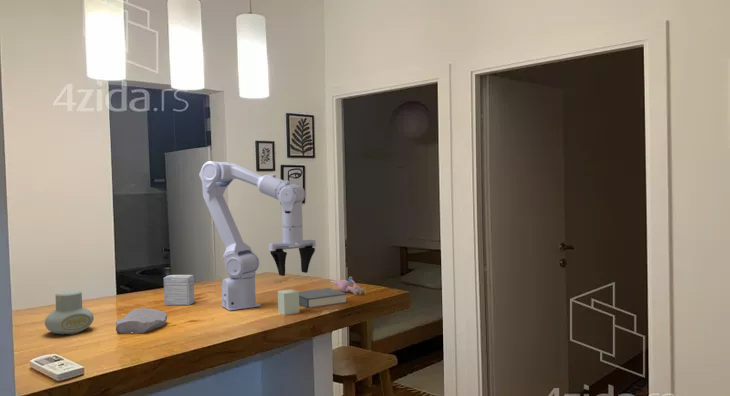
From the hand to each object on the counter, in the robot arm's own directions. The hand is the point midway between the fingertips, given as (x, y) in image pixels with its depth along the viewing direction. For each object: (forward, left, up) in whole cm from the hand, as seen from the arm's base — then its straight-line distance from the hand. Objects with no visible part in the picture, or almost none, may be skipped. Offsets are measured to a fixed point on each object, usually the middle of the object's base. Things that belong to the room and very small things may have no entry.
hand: (293, 273), depth 163 cm
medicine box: (-25, +28, -11) cm, 39 cm away
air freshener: (-56, +11, -11) cm, 59 cm away
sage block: (-2, -2, -10) cm, 11 cm away
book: (+11, +5, -11) cm, 16 cm away
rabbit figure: (+25, +13, -11) cm, 30 cm away
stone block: (-40, +4, -11) cm, 42 cm away
